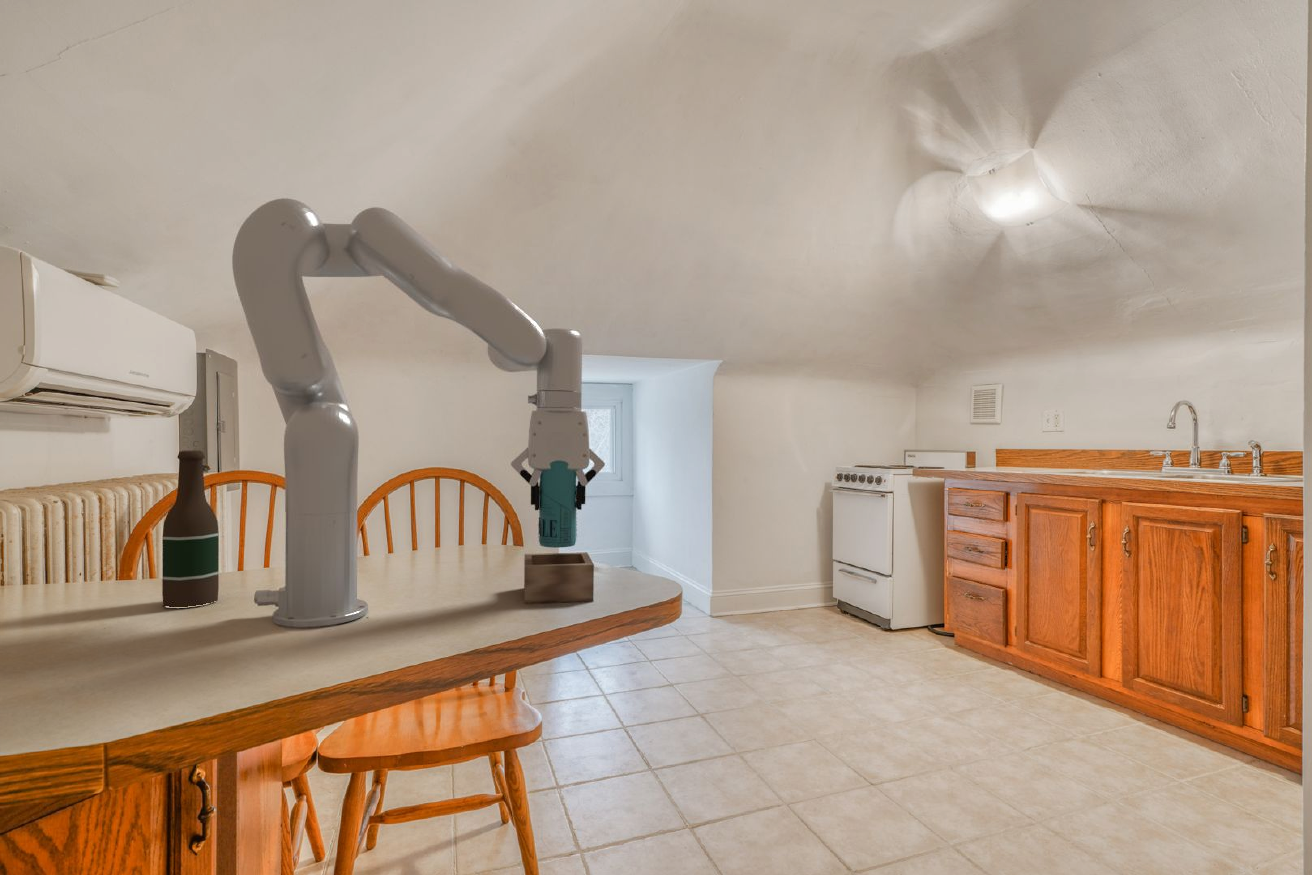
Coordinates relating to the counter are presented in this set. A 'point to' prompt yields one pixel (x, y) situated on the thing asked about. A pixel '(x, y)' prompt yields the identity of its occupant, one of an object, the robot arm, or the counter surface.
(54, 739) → the counter surface
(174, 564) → the beer bottle
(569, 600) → the holder
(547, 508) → the beverage bottle
